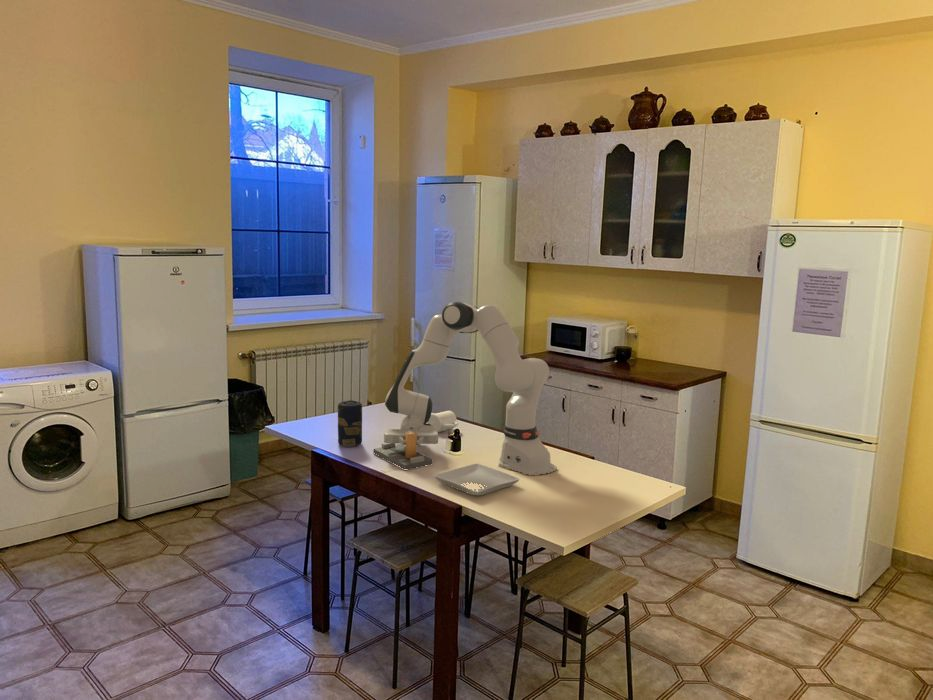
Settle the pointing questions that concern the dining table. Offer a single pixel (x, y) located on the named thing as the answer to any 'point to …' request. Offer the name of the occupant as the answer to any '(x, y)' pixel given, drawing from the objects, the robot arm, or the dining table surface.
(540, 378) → the robot arm
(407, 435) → the fader knob
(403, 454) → the console
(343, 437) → the canister
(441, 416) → the mug
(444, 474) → the salad plate
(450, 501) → the dining table surface
